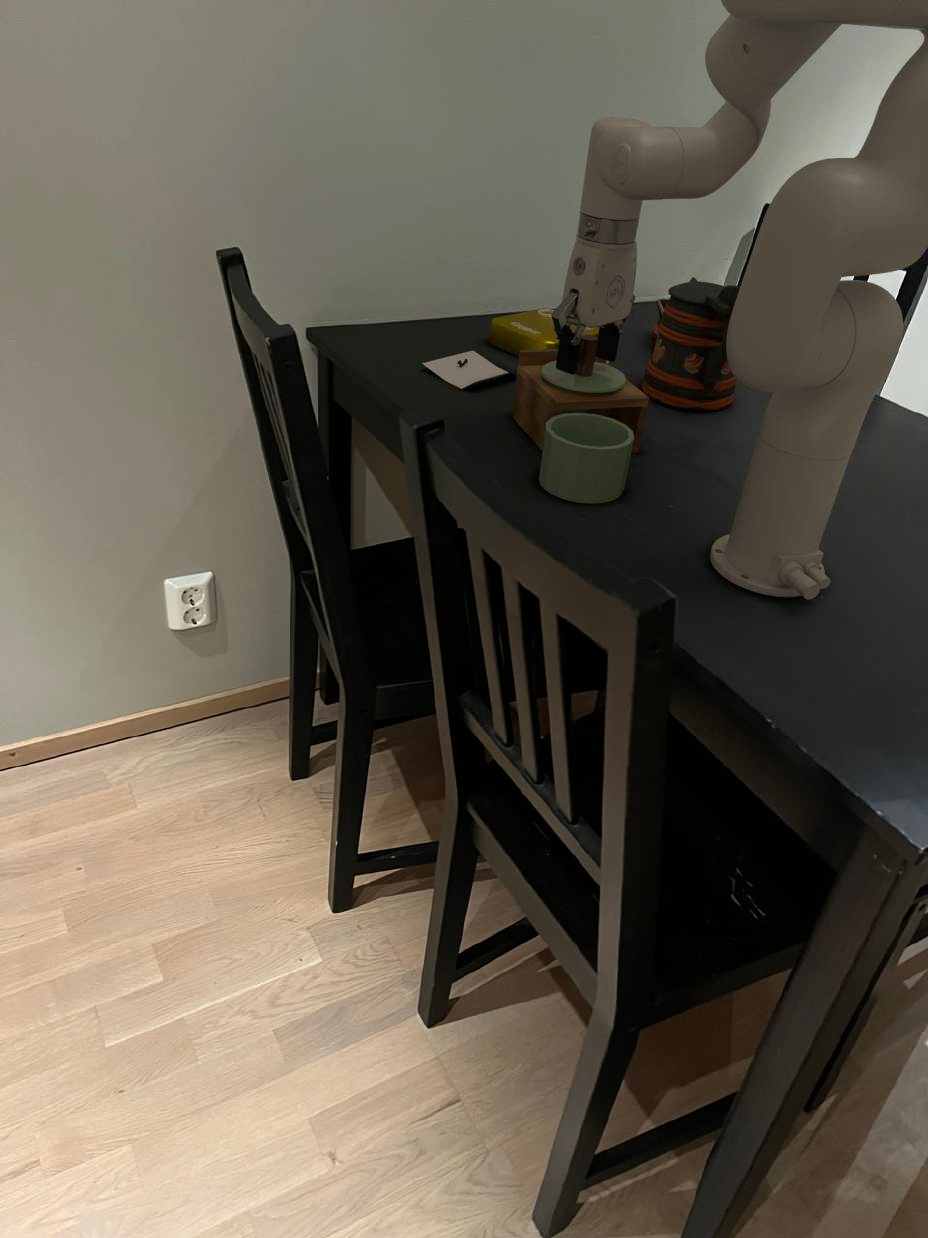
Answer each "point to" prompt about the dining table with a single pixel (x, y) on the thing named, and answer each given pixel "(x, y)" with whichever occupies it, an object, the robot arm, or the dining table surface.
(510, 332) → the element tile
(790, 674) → the dining table surface
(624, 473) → the pot
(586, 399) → the shelf
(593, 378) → the lid
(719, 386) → the beer stein
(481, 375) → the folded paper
